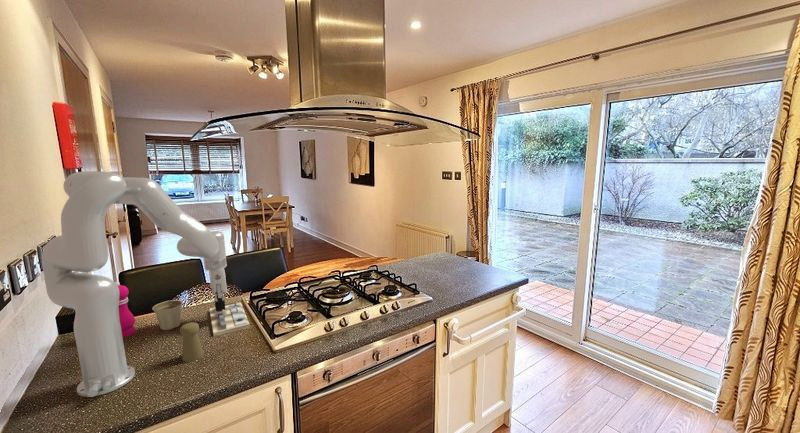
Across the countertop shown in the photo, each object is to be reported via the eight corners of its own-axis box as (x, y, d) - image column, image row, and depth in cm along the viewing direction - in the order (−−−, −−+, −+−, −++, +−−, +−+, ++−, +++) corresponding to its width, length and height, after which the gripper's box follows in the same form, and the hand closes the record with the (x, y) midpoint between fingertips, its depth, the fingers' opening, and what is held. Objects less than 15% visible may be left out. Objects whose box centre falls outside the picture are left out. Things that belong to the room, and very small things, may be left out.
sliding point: (238, 312, 136) (237, 295, 135) (216, 317, 132) (214, 300, 131) (237, 309, 139) (236, 292, 138) (215, 314, 135) (213, 297, 133)
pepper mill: (107, 336, 122) (98, 283, 119) (130, 327, 129) (122, 277, 125) (117, 341, 119) (108, 287, 116) (141, 332, 125) (133, 280, 122)
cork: (207, 354, 111) (204, 322, 109) (188, 363, 106) (184, 330, 104) (197, 349, 114) (193, 318, 112) (178, 358, 109) (173, 326, 107)
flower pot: (153, 326, 130) (150, 304, 128) (182, 318, 136) (179, 297, 135) (157, 335, 123) (153, 313, 121) (187, 326, 129) (184, 305, 128)
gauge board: (249, 327, 128) (249, 317, 127) (213, 336, 122) (212, 326, 121) (241, 304, 148) (240, 296, 147) (209, 311, 142) (208, 302, 141)
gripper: (228, 267, 126) (233, 314, 129) (224, 256, 139) (228, 299, 143) (205, 271, 122) (210, 319, 125) (203, 259, 135) (208, 303, 139)
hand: (220, 308), depth 134 cm, fingers closed on sliding point, 3 cm apart
